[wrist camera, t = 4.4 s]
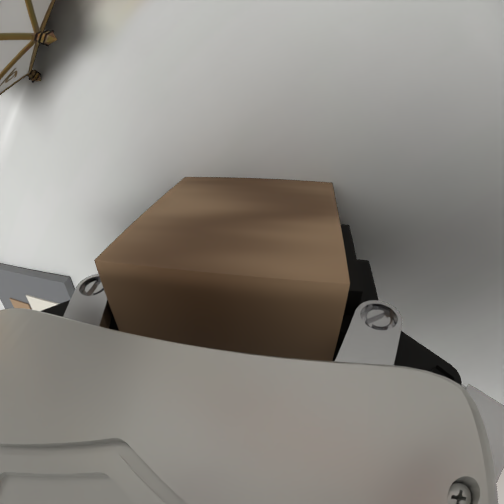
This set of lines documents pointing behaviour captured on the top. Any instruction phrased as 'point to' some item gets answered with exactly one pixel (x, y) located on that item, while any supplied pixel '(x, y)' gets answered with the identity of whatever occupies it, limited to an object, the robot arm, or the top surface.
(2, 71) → the game die
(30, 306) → the card
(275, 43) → the top surface
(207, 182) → the walnut block
